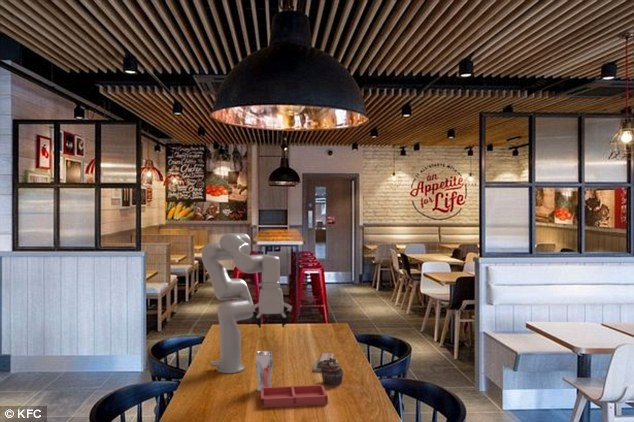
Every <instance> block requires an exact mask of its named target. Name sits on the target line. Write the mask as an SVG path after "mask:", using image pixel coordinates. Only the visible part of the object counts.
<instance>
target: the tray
mask: <svg viewBox="0 0 634 422" xmlns="http://www.w3.org/2000/svg"><path fill="white" fill-rule="evenodd" d="M328 399H329V398H328V393H327V391H326V389H325V385H324V384H307V385H304V384H303V385H283V386H271V387H261V392H260V408H261V409H262V408H263V409H264V408H265V409H266V408H282V407H284V408H285V407H301V406H303V407H305V406H323V405H328V403H329V402H328Z"/></svg>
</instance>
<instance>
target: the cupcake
mask: <svg viewBox="0 0 634 422" xmlns="http://www.w3.org/2000/svg"><path fill="white" fill-rule="evenodd" d="M336 359H337V358H334V359H332V358H330V359H329V360H324V361H323V365H322V367H321V372H320V373H321V377H322V383H323V385H325V384H326V386H332V387H333V386H340V385H341V384H342V383H343V376H344V370H343V369H342V368H343V367H342V365H341V364H339V361H338V360H337V361H336Z"/></svg>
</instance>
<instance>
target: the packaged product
mask: <svg viewBox="0 0 634 422" xmlns="http://www.w3.org/2000/svg"><path fill="white" fill-rule="evenodd" d="M330 358H332V359H336V361H337V362H338V358H335V353H333V352H321V353H320V355H319V357H317V358H316V361H315V364H314V366H313V372H319V373H321V367H322V365H323V361H324V360H329V359H330Z"/></svg>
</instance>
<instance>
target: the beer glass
mask: <svg viewBox="0 0 634 422" xmlns="http://www.w3.org/2000/svg"><path fill="white" fill-rule="evenodd" d="M273 363H274V361H273V352H272V351H270V350H268V351H267V350H261V351H257V352H256V353H255V370H256V376H257V377H256V378H257V387H256V391H257V392H260V393H261V387H272V382H271V381H272V373H273V367H274V365H273Z"/></svg>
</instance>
